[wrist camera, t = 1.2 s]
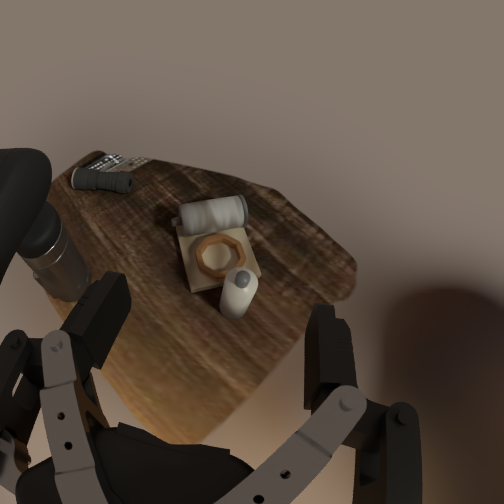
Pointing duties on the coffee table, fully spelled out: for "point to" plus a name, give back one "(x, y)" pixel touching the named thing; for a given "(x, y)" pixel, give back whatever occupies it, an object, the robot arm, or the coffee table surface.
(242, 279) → the white capped bottle
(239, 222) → the motor mount
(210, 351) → the coffee table surface
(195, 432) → the coffee table surface
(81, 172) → the flashlight
